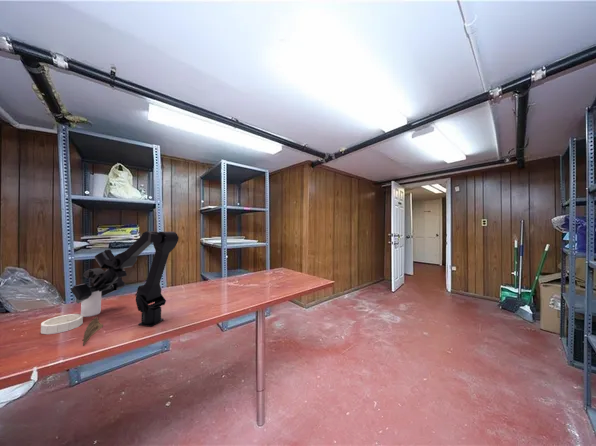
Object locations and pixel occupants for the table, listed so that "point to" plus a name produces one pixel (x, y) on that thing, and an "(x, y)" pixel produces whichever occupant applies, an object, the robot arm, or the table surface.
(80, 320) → the bowl
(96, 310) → the white rounded block
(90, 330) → the brown curved piece
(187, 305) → the table surface
